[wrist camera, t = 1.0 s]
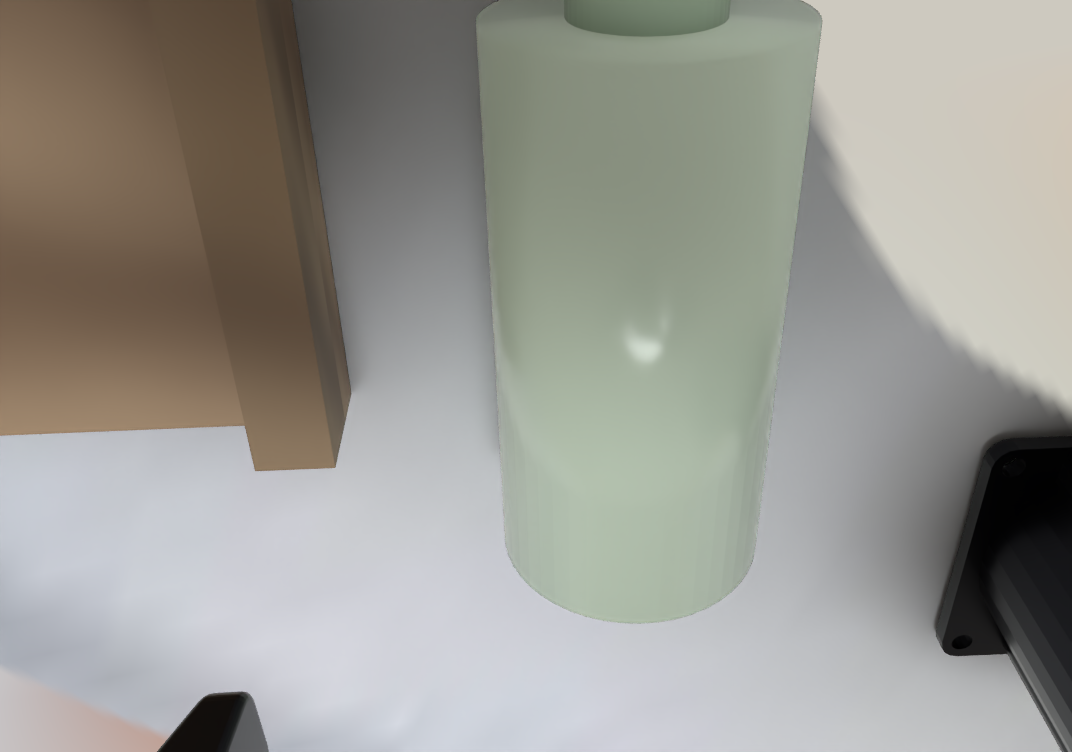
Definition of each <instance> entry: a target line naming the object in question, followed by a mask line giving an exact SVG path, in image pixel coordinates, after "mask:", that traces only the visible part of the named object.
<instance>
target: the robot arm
mask: <svg viewBox="0 0 1072 752" xmlns="http://www.w3.org/2000/svg"><path fill="white" fill-rule="evenodd" d="M1012 459H1016V460H1015V461H1014V462H1013V463H1011V464H1009V465H1005V463H1007V462H1008V461H1010V460H1012ZM1004 465H1005V466H1004ZM936 637H937V639H938V641H939V643H940V645H941V647H942V649H943V650H944V652H945V653H947V654H949V655H953V656H969V655H991V654H1008V656H1009V657H1010V659H1011V661H1012V663H1013V665H1014V666H1015V668H1016V670H1017V672H1018V674H1019V675H1020V677H1021V679H1022V681H1023V683H1024V684H1025V686H1026V688H1027V690H1028V692H1029V693H1030V695H1031V697H1032V699H1033V701H1034V702H1035V704H1036V706H1037V708H1038V710H1039V711H1040V713H1041V715H1042V717H1043V719H1044V720H1045V722H1046V724H1047V726H1048V728H1049V729H1050V731H1051V733H1052V735H1053V737H1054V738H1055V740H1056V742H1057V744H1058V746H1059V747H1060V749H1061V751H1062V752H1072V436H1059V437H1035V438H1012V439H1006V440H1002V441H1000V442H998V443H996V444H994V445H993V446H992V447H991V448H990V449H989V450H988V451H987V453H986V455H985V457H984V459H983V463H982V466H981V470H980V474H979V477H978V481H977V485H976V488H975V492H974V495H973V499H972V503H971V506H970V510H969V513H968V517H967V521H966V524H965V528H964V532H963V535H962V539H961V542H960V546H959V550H958V553H957V557H956V561H955V564H954V568H953V571H952V575H951V579H950V582H949V586H948V589H947V593H946V597H945V600H944V604H943V608H942V611H941V615H940V618H939V622H938V626H937V629H936ZM157 752H269V751H268V745H267V742H266V738H265V735H264V732H263V729H262V725H261V722H260V719H259V716H258V712H257V709H256V706H255V703H254V700H253V698H252V697H251V695H250V694H249V693H247V692H225V693H213V694H209V695H207V696H205V697H203V698H202V699H201V700H200V701H199V702H198V703H197V704H196V706H195V707H194V708H193V709H192V710H191V712H190V713H189V714H188V715H187V716H186V718H185V719H184V720H183V721H182V722H181V724H180V725H179V726H178V727H177V728H176V730H175V731H174V732H173V733H172V734H171V736H170V737H169V738H168V739H167V740H166V742H165V743H164V744H163V745H162V746H161V748H160V749H159V750H158V751H157Z"/></svg>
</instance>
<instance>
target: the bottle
mask: <svg viewBox="0 0 1072 752" xmlns="http://www.w3.org/2000/svg"><path fill="white" fill-rule="evenodd" d="M821 28H822V18H821V15H820V14H819V12H818V11H817V10H816V9H815V8H813V7H812V6H811V5H809V4H807V3H805V2H803V1H801V0H499V1H497V2H495V3H493V4H491V5H489V6H487V7H486V8H484V9H483V10H482V11H481V12H480V13H479V14H478V16H477V18H476V34H477V52H478V69H479V87H480V105H481V123H482V140H483V158H484V176H485V194H486V211H487V229H488V247H489V265H490V282H491V300H492V318H493V336H494V353H495V371H496V389H497V407H498V424H499V442H500V460H501V478H502V495H503V513H504V531H505V544H506V548H507V552H508V555H509V558H510V560H511V562H512V564H513V566H514V568H515V569H516V571H517V572H518V573H519V575H520V576H521V577H522V578H523V580H524V581H525V582H526V583H527V584H528V585H529V586H530V587H531V588H532V589H534V590H535V591H536V592H537V593H539V594H540V595H541V596H543V597H544V598H546V599H548V600H549V601H551V602H552V603H554V604H556V605H558V606H560V607H562V608H564V609H567V610H569V611H571V612H574V613H577V614H580V615H583V616H586V617H590V618H594V619H599V620H603V621H610V622H618V623H639V624H640V623H655V622H663V621H668V620H674V619H678V618H682V617H685V616H689V615H692V614H694V613H697V612H699V611H702V610H704V609H706V608H708V607H710V606H712V605H714V604H715V603H717V602H719V601H720V600H722V599H723V598H724V597H726V596H727V595H728V594H730V593H731V592H732V591H733V590H734V589H735V588H736V587H737V586H738V585H739V584H740V583H741V581H742V580H743V578H744V577H745V575H746V574H747V572H748V570H749V568H750V566H751V564H752V561H753V557H754V552H755V547H756V539H757V531H758V523H759V515H760V507H761V500H762V492H763V484H764V476H765V468H766V460H767V452H768V445H769V437H770V429H771V421H772V413H773V405H774V397H775V390H776V382H777V374H778V366H779V358H780V350H781V342H782V335H783V327H784V319H785V311H786V303H787V295H788V288H789V280H790V272H791V264H792V256H793V248H794V240H795V233H796V225H797V217H798V209H799V201H800V193H801V185H802V178H803V170H804V162H805V154H806V146H807V138H808V130H809V123H810V115H811V107H812V99H813V91H814V83H815V76H816V68H817V59H818V52H819V43H820V36H821Z"/></svg>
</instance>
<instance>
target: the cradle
mask: <svg viewBox="0 0 1072 752" xmlns="http://www.w3.org/2000/svg"><path fill="white" fill-rule="evenodd" d="M350 397H351V389H350V382H349V376H348V369H347V363H346V356H345V349H344V343H343V336H342V330H341V323H340V317H339V310H338V303H337V297H336V290H335V284H334V277H333V271H332V264H331V257H330V251H329V244H328V238H327V231H326V225H325V218H324V211H323V205H322V198H321V192H320V185H319V179H318V172H317V165H316V159H315V152H314V146H313V139H312V133H311V126H310V119H309V113H308V106H307V100H306V93H305V87H304V80H303V73H302V67H301V60H300V54H299V47H298V41H297V34H296V27H295V21H294V14H293V8H292V1H291V0H0V435H25V434H49V433H74V432H98V431H123V430H147V429H172V428H196V427H220V426H245V429H246V433H247V437H248V442H249V446H250V451H251V455H252V459H253V464H254V468H255V471H270V470H294V469H318V468H335V467H336V462H337V457H338V453H339V448H340V443H341V439H342V434H343V429H344V425H345V420H346V415H347V411H348V406H349V402H350Z"/></svg>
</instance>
